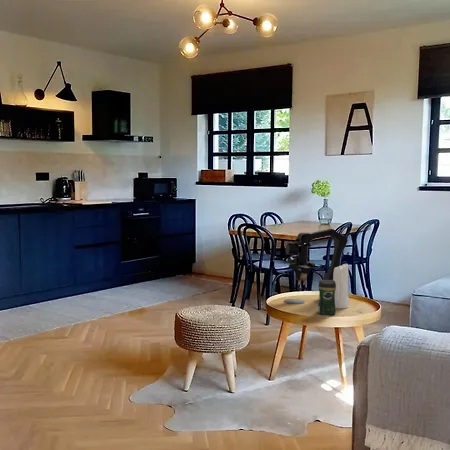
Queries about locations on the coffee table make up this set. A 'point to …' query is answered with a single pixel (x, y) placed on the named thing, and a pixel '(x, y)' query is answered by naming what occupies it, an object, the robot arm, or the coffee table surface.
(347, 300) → the decorative vase
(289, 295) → the coffee table surface
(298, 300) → the felt mat
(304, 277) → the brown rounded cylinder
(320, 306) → the coffee jar
